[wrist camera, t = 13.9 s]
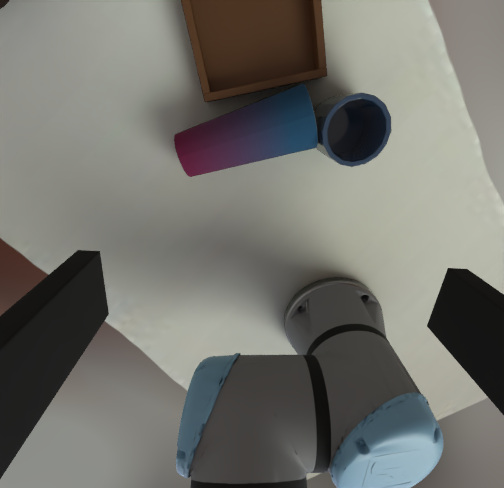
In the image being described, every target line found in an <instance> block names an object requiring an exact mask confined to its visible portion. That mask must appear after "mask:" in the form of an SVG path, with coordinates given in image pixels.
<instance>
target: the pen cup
mask: <svg viewBox="0 0 504 488" xmlns="http://www.w3.org/2000/svg"><path fill="white" fill-rule="evenodd" d="M314 115H315V120H316V126H317V134H318V145H317V147H316V149H317V150H319V151H320V152H321V153H323V154H324V155H326V156H327V157H329V158H330V159H332V160H334V161H335V162H337V163H339V164H341V165H346V166H351V167H353V166H358V165H363V164H366V163H367V162H369V161H371V160H372V159H374V158H375V157H377V156H378V154H379V153H380V152H381V151H382V149H383V148H384V147H385V146H386V144H387V141H388V138H389V135H390V133H391V116H390V114H389V112H388V109H387V107H386V105H385V104H384V103H383V102H382V101H381V100H380V99H378V98H377V97H376V96H374V95H370V94H365V93H354V94H344V95H339V96H334V97H331V98H328V99H327V100H325V101H323V102H322V103H321V104H320V105H319V106H318V107H317V108H316V110H315V111H314Z"/></svg>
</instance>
